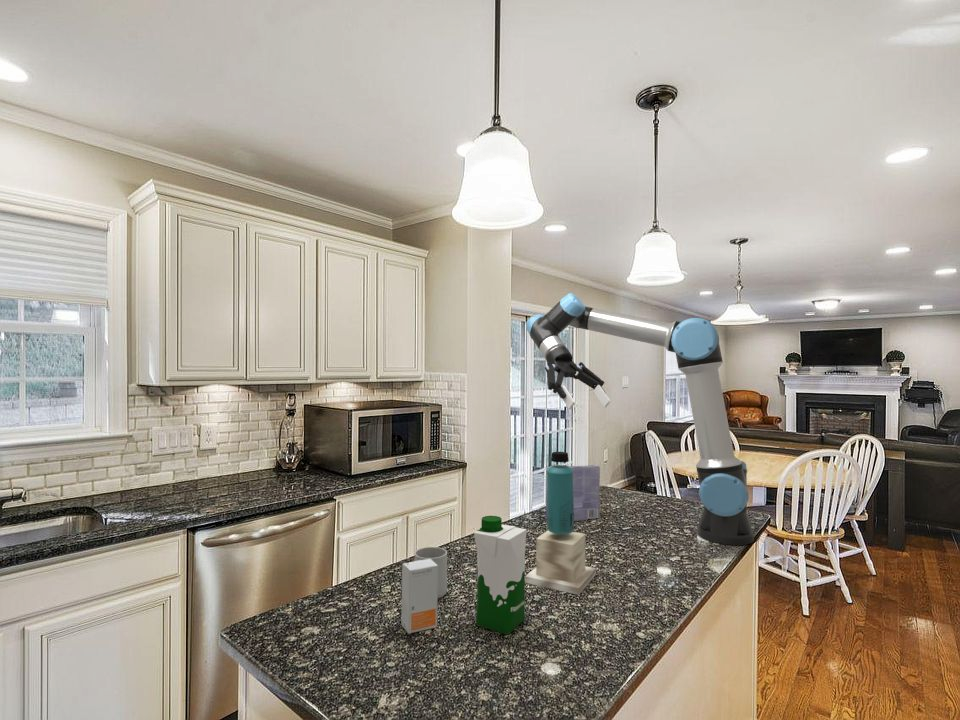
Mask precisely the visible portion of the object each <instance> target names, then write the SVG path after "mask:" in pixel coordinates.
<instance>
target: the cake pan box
mask: <svg viewBox="0 0 960 720" xmlns="http://www.w3.org/2000/svg"><path fill="white" fill-rule="evenodd" d="M567 466H568V467H570V468H571V469H572V470H573V500H574V501H573V505H574V506H573V510H574V514H573V515H574V522H580V521H579V520H582V521H589V520H588V519H592V520H597V519H596V518H600V517H601V516H600V513H601V512H600V508H601V505H600V502H601V501H600V499H601V498H600V493H601V492H600V488H601V487H600V485H601V483H600V482H601V480H600V479H601V477H600V476H601V475H600V474H601V469H600V468H601V467H600V466H599V465H593V464H591V465H567ZM550 467H551V466H546V468H545V471H546V472H545V520H546V521H547V516H546V514H547V512H546V511H547V505H546V504H547V470H548V469H549V468H550Z"/></svg>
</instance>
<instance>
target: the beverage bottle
mask: <svg viewBox="0 0 960 720" xmlns="http://www.w3.org/2000/svg"><path fill="white" fill-rule="evenodd" d="M550 461H551V462H554V463H568V462H569V461H570V460H569V453H568V452H565V451H552V452H551V458H550ZM568 466H569V465H565V464H564V465H562V464H554V465H551V466H549V467H550V468H549V469H548V470H547V504H546V503H545V506H546V505H547V511H546V510H545V517H546V516H547V520H546V527H547V530H548V531H550V532H552V533H556V534H569V533H572V532H574V529H575V528H574V527H575V521H574V515H573V514H574V510H573V506H574V505H573V501H574V500H573V470H572V469H571V468H570V467H568ZM546 512H547V514H546Z"/></svg>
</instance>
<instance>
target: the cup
mask: <svg viewBox="0 0 960 720" xmlns="http://www.w3.org/2000/svg"><path fill="white" fill-rule="evenodd" d="M426 559H431V560H432V561H433V562H435V563H436V564H437V565H438V598H437V600H438V599H441V598H443V597H444V596H445V595H446V594H447V592H448V590H447V589H448V550H447V549H445V548H442V547H438V546H437V547H436V546H427V547H422V548H421V547H420V548H419V549H417V550H415V551H414V561H418V560H426Z"/></svg>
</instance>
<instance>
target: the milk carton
mask: <svg viewBox="0 0 960 720" xmlns="http://www.w3.org/2000/svg"><path fill="white" fill-rule="evenodd" d="M502 520H503V519H502V517H501V516H498V515H485V516H483V517H482V516H481V527H480V528H479V529H477V530H476V531H474V532H473V536H474V541H475V547H476V551H477V553H476V554H477V557H476V558H477V559H476V560H477V561H476V564H477V565H476V568H477V569H476V572H477V573H476V577H477V578H476V579H477V580H476V581H477V582H476V586H477V587H476V594H477V595H476V611H475V612H476V613H475V614H476V616H475V617H476V618H475V625H476V626H477V627H478V626H479V627H482V628H484V629H488V630H491V631H495V632H498V633H500V634H504V635H507V636H508V635H509V634H510V633H512V632H513V631H514V630H515V629H516V628H517V627H518V626H520V625H521V624H522V622H524V621H525V619H526V617H525V615H526V614H525V613H526V612H525V611H526V609H525V606H526V605H525V604H526V603H525V602H526V601H525V600H526V598H525V597H526V594H525V593H526V590H525V589H526V586H525V585H526V583H525V576H526V575H525V574H526V571H525V567H526V565H525V564H526V562H525V561H526V555H525V554H526V542H527V529H526V528H520V527H516V526H515V525H508V524H503V523H502V522H503V521H502Z"/></svg>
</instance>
